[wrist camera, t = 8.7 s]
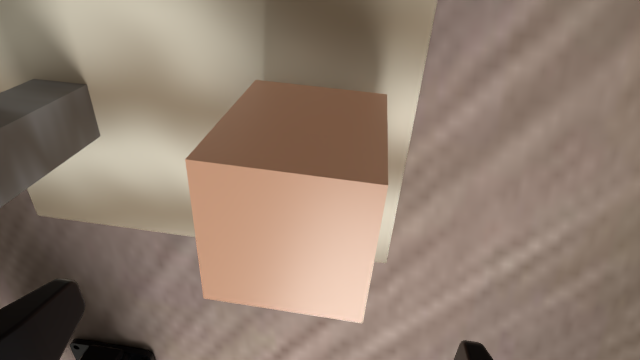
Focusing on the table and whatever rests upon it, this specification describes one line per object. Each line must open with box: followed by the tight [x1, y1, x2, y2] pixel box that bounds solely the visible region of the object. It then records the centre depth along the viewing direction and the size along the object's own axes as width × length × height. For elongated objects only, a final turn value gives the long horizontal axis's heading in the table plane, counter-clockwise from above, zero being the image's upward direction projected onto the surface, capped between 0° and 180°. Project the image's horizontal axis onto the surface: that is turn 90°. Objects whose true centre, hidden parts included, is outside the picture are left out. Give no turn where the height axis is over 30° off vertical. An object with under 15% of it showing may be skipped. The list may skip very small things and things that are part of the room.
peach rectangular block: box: [185, 80, 388, 323], centre depth 14 cm, size 5×5×7 cm
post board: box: [0, 0, 437, 263], centre depth 16 cm, size 14×20×8 cm
